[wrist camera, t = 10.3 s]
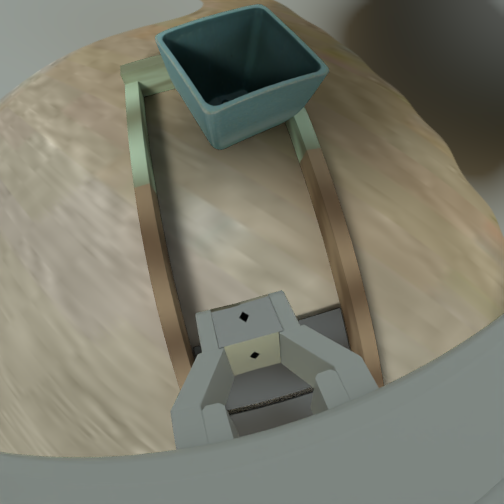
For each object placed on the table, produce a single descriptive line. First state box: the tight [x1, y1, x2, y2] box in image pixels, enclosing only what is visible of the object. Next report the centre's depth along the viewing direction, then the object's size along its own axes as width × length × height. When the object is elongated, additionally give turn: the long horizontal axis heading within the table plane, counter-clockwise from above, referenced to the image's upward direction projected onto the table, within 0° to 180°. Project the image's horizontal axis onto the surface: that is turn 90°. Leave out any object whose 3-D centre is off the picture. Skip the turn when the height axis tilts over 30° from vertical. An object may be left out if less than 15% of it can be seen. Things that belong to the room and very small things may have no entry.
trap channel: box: [120, 55, 384, 437], centre depth 21 cm, size 36×14×4 cm, turn 14°
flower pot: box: [155, 4, 329, 149], centre depth 20 cm, size 9×9×9 cm
